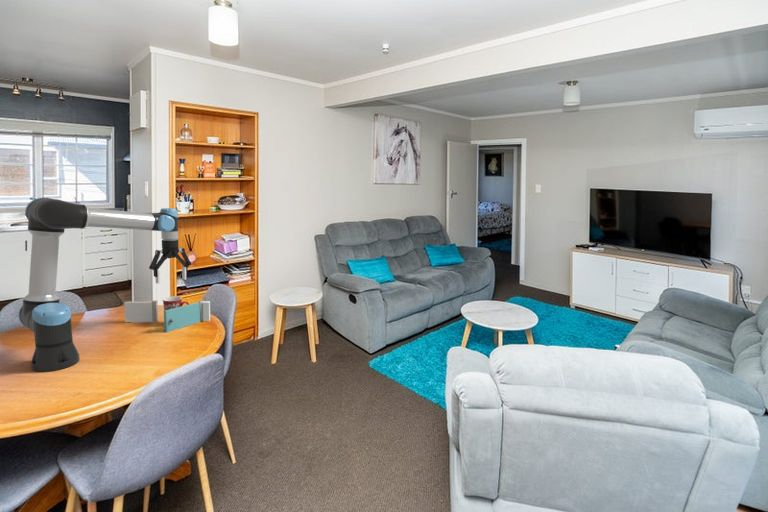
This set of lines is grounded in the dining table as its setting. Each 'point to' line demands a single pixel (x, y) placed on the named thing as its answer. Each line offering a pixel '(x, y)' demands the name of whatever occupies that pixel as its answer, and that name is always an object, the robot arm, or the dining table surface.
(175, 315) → the door
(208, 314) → the wall frame
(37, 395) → the dining table surface
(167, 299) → the mug
